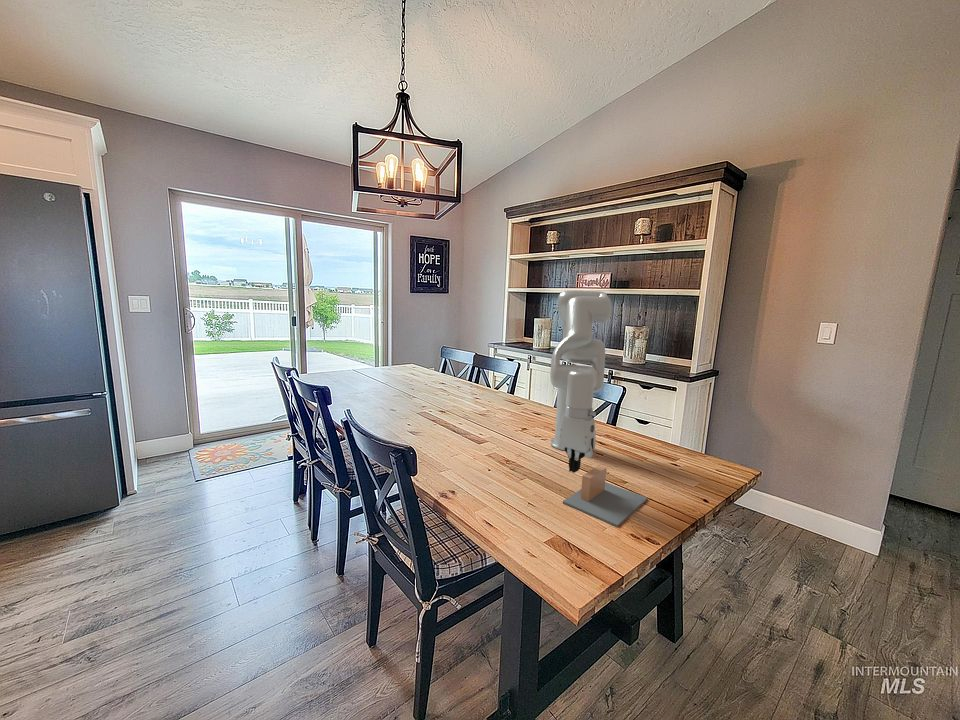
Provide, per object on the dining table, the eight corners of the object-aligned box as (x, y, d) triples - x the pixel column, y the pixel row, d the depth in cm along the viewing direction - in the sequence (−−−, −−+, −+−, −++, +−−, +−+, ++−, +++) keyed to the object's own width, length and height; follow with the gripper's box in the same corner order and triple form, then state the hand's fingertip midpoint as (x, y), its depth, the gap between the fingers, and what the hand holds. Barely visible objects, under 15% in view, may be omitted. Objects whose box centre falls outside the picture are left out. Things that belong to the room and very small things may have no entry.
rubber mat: (596, 480, 124) (596, 478, 124) (647, 499, 113) (647, 497, 113) (562, 503, 110) (562, 501, 110) (617, 527, 99) (617, 524, 99)
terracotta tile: (597, 486, 119) (598, 465, 118) (604, 489, 117) (606, 467, 116) (580, 498, 112) (582, 475, 110) (588, 501, 110) (590, 478, 109)
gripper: (608, 415, 113) (603, 475, 116) (563, 404, 123) (559, 459, 126) (595, 420, 107) (590, 483, 110) (549, 408, 117) (546, 466, 120)
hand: (574, 470), depth 118 cm, fingers closed
